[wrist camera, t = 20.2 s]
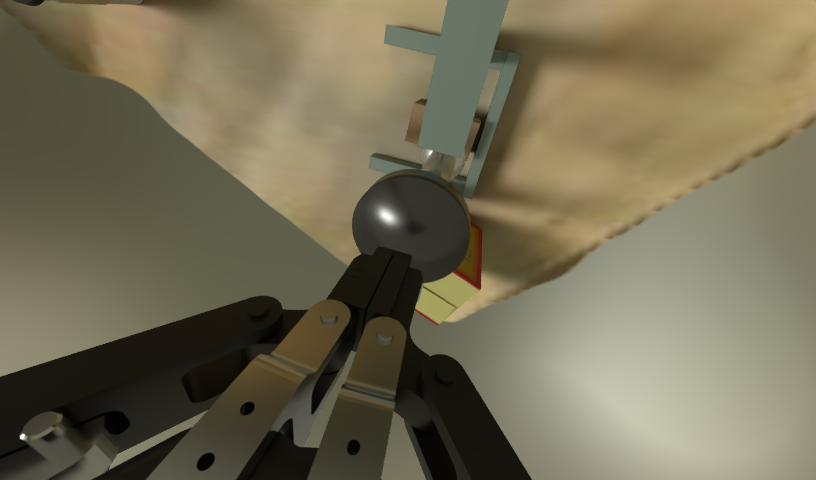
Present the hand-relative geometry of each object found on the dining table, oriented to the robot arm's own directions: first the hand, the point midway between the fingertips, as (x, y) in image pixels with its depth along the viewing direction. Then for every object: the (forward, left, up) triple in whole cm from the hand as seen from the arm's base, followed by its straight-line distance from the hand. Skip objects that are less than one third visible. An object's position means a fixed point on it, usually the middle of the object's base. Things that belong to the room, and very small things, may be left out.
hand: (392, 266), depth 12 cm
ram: (0, 0, -18) cm, 18 cm away
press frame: (0, -3, -35) cm, 36 cm away
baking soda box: (+19, +4, -36) cm, 41 cm away
